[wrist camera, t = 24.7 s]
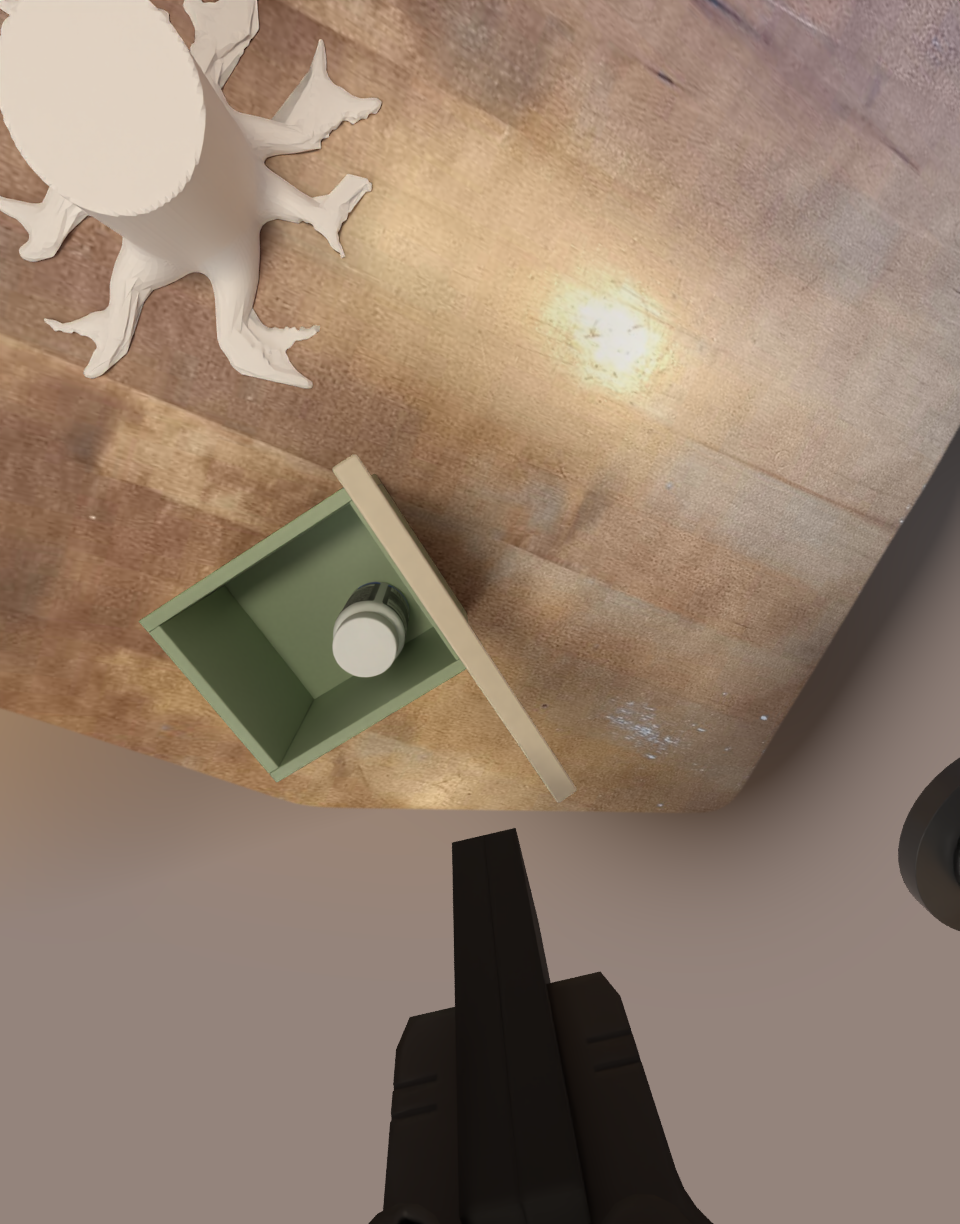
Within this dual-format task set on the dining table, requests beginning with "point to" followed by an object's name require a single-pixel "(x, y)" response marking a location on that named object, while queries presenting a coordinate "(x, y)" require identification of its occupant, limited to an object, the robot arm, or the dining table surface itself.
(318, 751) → the box
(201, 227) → the white tree stump
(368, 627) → the pill bottle
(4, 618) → the dining table surface
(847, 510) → the dining table surface
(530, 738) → the lid
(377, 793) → the dining table surface
